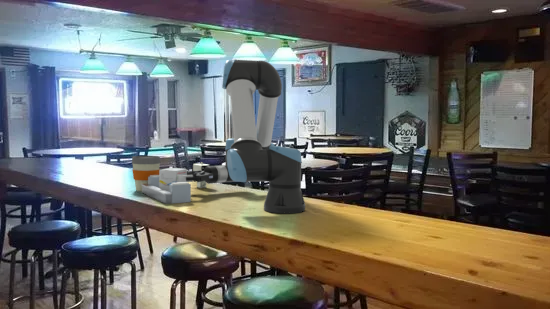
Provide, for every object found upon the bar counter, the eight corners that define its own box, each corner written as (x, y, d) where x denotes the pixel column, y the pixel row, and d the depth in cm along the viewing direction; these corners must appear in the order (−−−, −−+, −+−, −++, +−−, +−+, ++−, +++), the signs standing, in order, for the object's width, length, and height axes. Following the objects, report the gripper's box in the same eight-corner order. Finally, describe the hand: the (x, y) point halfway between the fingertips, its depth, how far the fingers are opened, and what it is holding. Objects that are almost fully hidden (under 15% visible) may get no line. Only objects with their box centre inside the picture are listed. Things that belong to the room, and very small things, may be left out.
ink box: (176, 199, 206) (176, 170, 205) (158, 197, 209) (158, 169, 208) (187, 196, 214) (187, 168, 213) (170, 194, 217) (170, 167, 216)
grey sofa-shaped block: (190, 201, 200) (190, 182, 199) (172, 203, 196) (172, 183, 195) (164, 191, 225) (164, 174, 225) (148, 192, 221) (148, 175, 221)
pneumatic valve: (203, 189, 234) (203, 163, 233) (191, 186, 243) (191, 161, 242) (213, 188, 237) (213, 162, 236) (201, 185, 246) (201, 160, 245)
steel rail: (171, 203, 196) (171, 193, 195) (164, 204, 194) (164, 193, 194) (147, 192, 221) (147, 183, 221) (141, 193, 220) (141, 183, 219)
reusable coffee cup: (150, 192, 221) (150, 158, 220) (126, 190, 225) (125, 157, 224) (165, 189, 233) (165, 156, 232) (142, 187, 237) (142, 155, 236)
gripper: (230, 186, 213) (184, 190, 201) (201, 179, 233) (157, 182, 220) (230, 168, 213) (184, 171, 200) (201, 163, 233) (157, 165, 220)
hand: (170, 177), depth 210 cm, fingers open, 13 cm apart
